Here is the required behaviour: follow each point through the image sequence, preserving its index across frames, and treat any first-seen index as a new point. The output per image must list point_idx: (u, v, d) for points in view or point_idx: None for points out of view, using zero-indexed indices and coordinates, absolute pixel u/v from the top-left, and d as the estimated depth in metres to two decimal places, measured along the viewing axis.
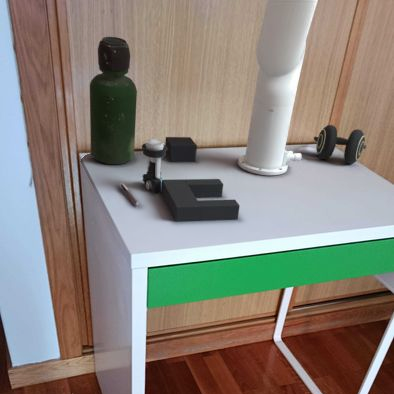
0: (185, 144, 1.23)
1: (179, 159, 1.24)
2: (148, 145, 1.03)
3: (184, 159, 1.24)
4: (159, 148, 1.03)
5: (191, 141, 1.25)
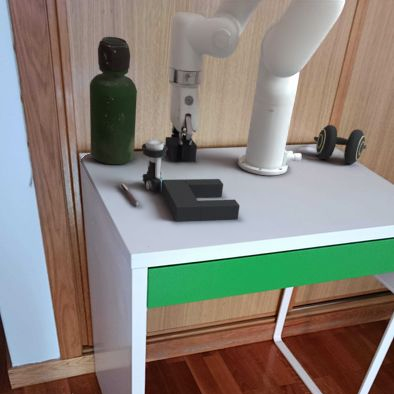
0: None
1: None
2: (148, 145, 1.03)
3: None
4: (159, 148, 1.03)
5: (191, 141, 1.25)
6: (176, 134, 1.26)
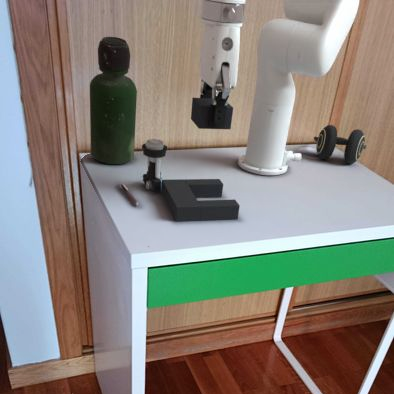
0: None
1: None
2: (148, 145, 1.03)
3: None
4: (159, 148, 1.03)
5: None
6: (206, 94, 0.99)
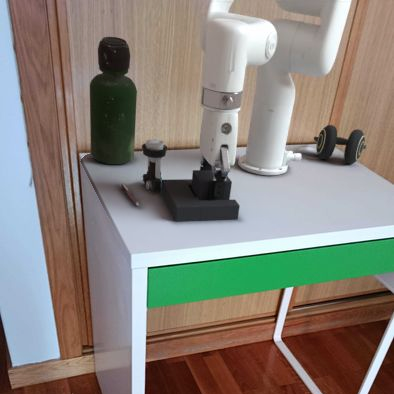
0: None
1: None
2: (148, 145, 1.03)
3: None
4: (159, 148, 1.03)
5: None
6: (206, 167, 1.04)
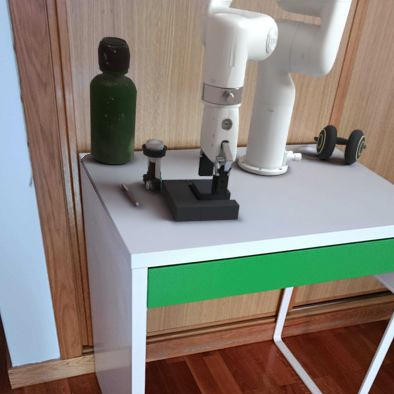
0: None
1: None
2: (148, 145, 1.03)
3: None
4: (159, 148, 1.03)
5: None
6: (205, 157, 1.04)
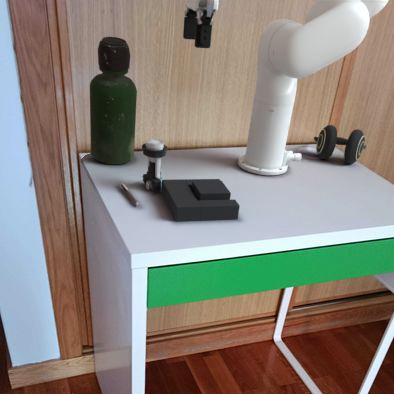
0: (217, 191, 1.02)
1: None
2: (148, 145, 1.03)
3: None
4: (159, 148, 1.03)
5: (223, 187, 1.04)
6: (190, 17, 1.06)
